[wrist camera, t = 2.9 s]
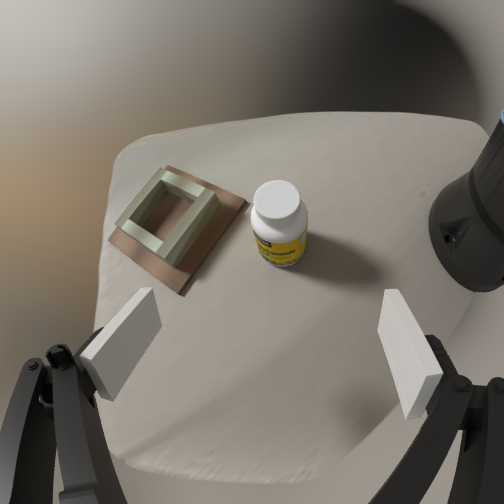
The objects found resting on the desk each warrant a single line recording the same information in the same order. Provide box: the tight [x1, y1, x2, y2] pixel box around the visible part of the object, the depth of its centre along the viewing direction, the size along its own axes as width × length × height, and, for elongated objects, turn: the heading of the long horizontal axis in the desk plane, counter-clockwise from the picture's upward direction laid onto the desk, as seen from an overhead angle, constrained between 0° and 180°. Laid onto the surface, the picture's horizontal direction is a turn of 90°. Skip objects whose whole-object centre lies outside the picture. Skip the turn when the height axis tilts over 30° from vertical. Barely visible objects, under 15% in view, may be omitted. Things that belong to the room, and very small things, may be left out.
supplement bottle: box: [251, 180, 308, 267], centre depth 28 cm, size 5×5×10 cm
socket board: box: [108, 165, 246, 295], centre depth 35 cm, size 14×14×4 cm
